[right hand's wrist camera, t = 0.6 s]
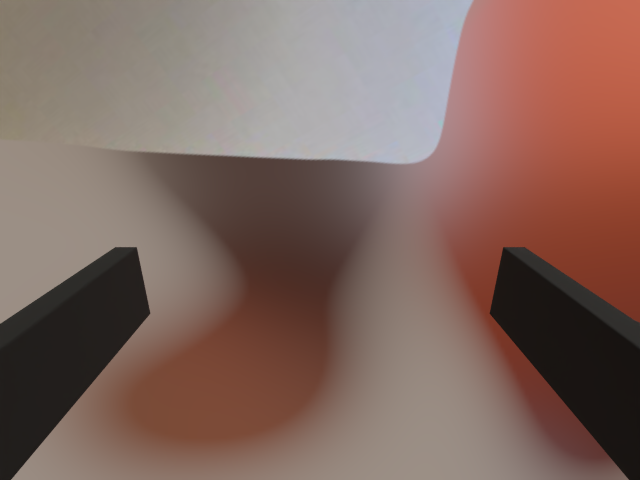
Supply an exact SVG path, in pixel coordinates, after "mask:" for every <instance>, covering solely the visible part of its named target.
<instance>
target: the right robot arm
mask: <svg viewBox="0 0 640 480" xmlns="http://www.w3.org/2000/svg"><path fill="white" fill-rule="evenodd" d="M149 314H150V310H149V305H148V300H147V295H146V290H145V285H144V281H143V276H142V271H141V266H140V261H139V256H138V251H137V248H136V247H115V248H114V249H112V250H111V251H109V252H108V253H106V254H105V255H103V256H102V257H100V258H99V259H97V260H96V261H94V262H93V263H91V264H90V265H88V266H87V267H85V268H84V269H82V270H81V271H79V272H78V273H76V274H75V275H73V276H72V277H70V278H69V279H67V280H66V281H64V282H63V283H61V284H60V285H58V286H57V287H55V288H54V289H52V290H51V291H49V292H47V293H46V294H44V295H43V296H41V297H40V298H39V299H37V300H35V301H34V302H32V303H31V304H29V305H28V306H26V307H25V308H23V309H22V310H20V311H19V312H17V313H16V314H14V315H13V316H12V317H10V318H8V319H7V320H5V321H4V322H3V323H1V324H0V480H11V479H12V478H13V477H14V475H15V474H16V473H17V472H18V471H19V469H20V468H21V467H22V466H23V465H24V463H25V462H26V461H27V460H28V459H29V458H30V456H31V455H32V454H33V453H34V452H35V450H36V449H37V448H38V447H39V446H40V444H41V443H42V442H43V441H44V440H45V438H46V437H47V436H48V435H49V434H50V433H51V431H52V430H53V429H54V428H55V427H56V425H57V424H58V423H59V422H60V421H61V419H62V418H63V417H64V416H65V415H66V413H67V412H68V411H69V410H70V409H71V407H72V406H73V405H74V404H75V403H76V401H77V400H78V399H79V398H80V397H81V396H82V394H83V393H84V392H85V391H86V389H87V388H88V387H89V386H90V385H91V384H92V382H93V381H94V380H95V379H96V378H97V376H98V375H99V374H100V373H101V372H102V370H103V369H104V368H105V367H106V366H107V365H108V363H109V362H110V361H111V360H112V359H113V357H114V356H115V355H116V354H117V353H118V351H119V350H120V349H121V348H122V347H123V345H124V344H125V343H126V342H127V341H128V339H129V338H130V337H131V336H132V335H133V333H134V332H135V331H136V330H137V329H138V328H139V326H140V325H141V324H142V323H143V321H144V320H145V319H146V318H147V317H148V316H149ZM490 314H491V316H492V317H493V318H494V319H495V320H496V322H497V323H498V324H499V325H500V326H501V327H502V329H503V330H504V331H505V332H506V333H507V335H508V336H509V337H510V338H511V339H512V341H513V342H514V343H515V344H516V345H517V347H518V348H519V349H520V350H521V351H522V353H523V354H524V355H525V356H526V357H527V359H528V360H529V361H530V362H531V363H532V364H533V366H534V367H535V368H536V369H537V370H538V372H539V373H540V374H541V375H542V376H543V378H544V379H545V380H546V381H547V382H548V384H549V385H550V386H551V387H552V388H553V390H554V391H555V392H556V393H557V394H558V396H559V397H560V398H561V399H562V400H563V401H564V403H565V404H566V405H567V406H568V407H569V409H570V410H571V411H572V412H573V413H574V415H575V416H576V417H577V418H578V419H579V421H580V422H581V423H582V424H583V425H584V427H585V428H586V429H587V430H588V431H589V432H590V434H591V435H592V436H593V437H594V438H595V440H596V441H597V442H598V443H599V444H600V446H601V447H602V448H603V449H604V450H605V452H606V453H607V454H608V455H609V456H610V458H611V459H612V460H613V461H614V462H615V464H616V465H617V466H618V467H619V468H620V469H621V471H622V472H623V473H624V474H625V475H626V477H627V478H628V479H629V480H640V323H639V322H637V321H635V320H633V319H632V318H630V317H629V316H627V315H626V314H624V313H623V312H621V311H620V310H618V309H617V308H615V307H614V306H612V305H611V304H609V303H607V302H606V301H605V300H603V299H601V298H600V297H599V296H597V295H595V294H594V293H593V292H591V291H589V290H588V289H586V288H585V287H583V286H582V285H580V284H579V283H577V282H576V281H574V280H573V279H571V278H570V277H568V276H567V275H565V274H564V273H562V272H561V271H559V270H558V269H556V268H555V267H553V266H552V265H550V264H549V263H547V262H546V261H544V260H543V259H541V258H540V257H538V256H537V255H535V254H534V253H532V252H531V251H529V250H528V249H526V248H525V247H504V248H503V251H502V256H501V261H500V266H499V271H498V276H497V281H496V285H495V290H494V295H493V300H492V305H491V310H490Z"/></svg>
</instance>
